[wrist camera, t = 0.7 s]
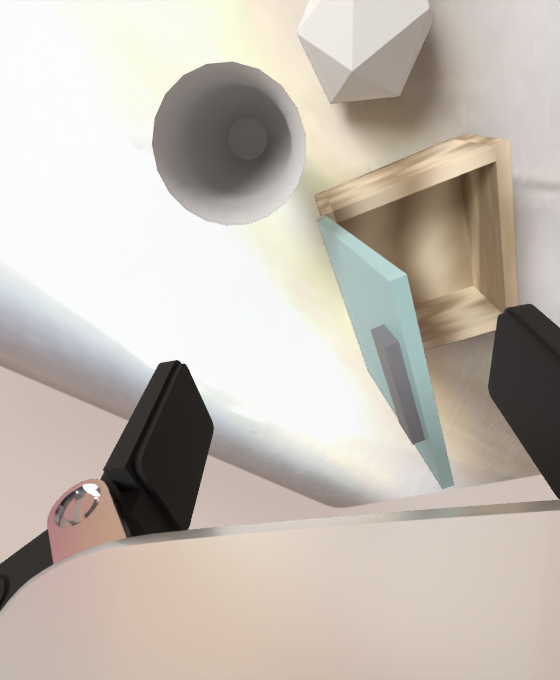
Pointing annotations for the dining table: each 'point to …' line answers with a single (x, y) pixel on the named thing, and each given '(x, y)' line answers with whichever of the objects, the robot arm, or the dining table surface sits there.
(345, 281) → the lid
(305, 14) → the die
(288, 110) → the chalice
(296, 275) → the dining table surface
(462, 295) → the chest
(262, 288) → the dining table surface
